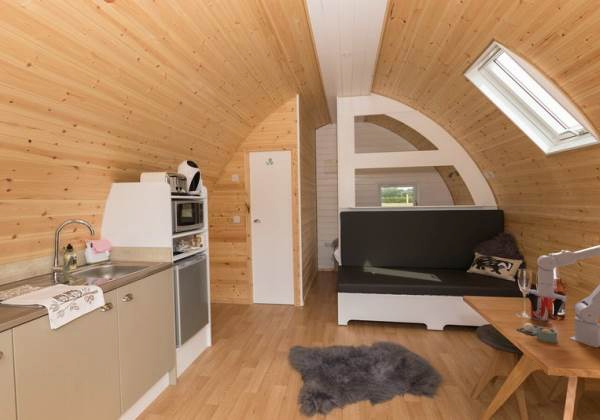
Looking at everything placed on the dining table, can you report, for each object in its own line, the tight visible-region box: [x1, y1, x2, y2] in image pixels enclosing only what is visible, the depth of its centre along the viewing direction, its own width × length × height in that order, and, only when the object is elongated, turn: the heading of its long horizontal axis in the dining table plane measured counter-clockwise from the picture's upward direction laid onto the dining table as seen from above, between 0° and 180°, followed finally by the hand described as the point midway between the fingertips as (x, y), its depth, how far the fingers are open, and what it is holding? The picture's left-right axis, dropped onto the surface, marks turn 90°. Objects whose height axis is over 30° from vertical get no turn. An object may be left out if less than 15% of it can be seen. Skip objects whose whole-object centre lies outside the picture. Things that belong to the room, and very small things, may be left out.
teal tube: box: [536, 326, 558, 343], centre depth 141 cm, size 7×7×4 cm
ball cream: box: [522, 322, 534, 332], centre depth 149 cm, size 4×4×4 cm
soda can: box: [530, 296, 549, 322], centre depth 165 cm, size 7×7×13 cm
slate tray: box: [516, 324, 539, 337], centre depth 150 cm, size 7×12×1 cm, turn 114°
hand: (545, 313), depth 146 cm, fingers open, 7 cm apart
